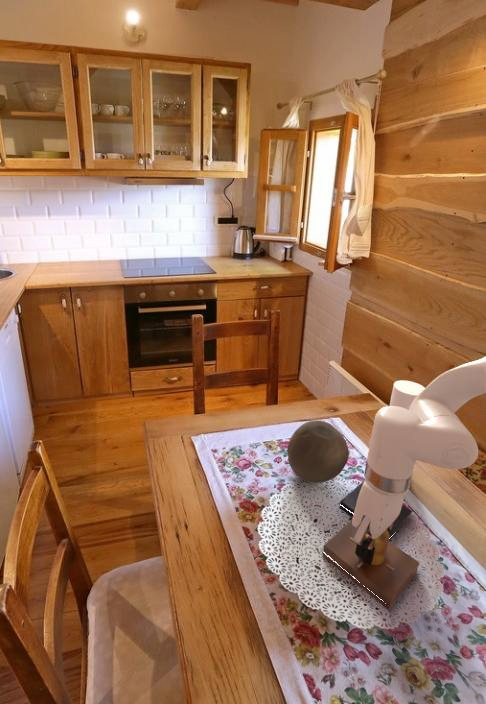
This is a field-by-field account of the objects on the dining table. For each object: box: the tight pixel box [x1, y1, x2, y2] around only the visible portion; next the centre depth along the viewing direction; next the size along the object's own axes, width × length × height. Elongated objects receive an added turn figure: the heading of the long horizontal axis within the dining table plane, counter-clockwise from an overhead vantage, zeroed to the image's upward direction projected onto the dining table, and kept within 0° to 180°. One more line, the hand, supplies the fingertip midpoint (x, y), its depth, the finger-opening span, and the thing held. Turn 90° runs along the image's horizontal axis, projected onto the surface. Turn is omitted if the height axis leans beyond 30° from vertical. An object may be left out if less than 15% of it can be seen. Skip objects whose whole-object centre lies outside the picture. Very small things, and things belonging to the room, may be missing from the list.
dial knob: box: [365, 529, 390, 565], centre depth 78 cm, size 5×5×6 cm
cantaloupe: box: [286, 419, 350, 484], centre depth 100 cm, size 14×14×15 cm
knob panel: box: [321, 518, 420, 611], centre depth 79 cm, size 14×11×3 cm
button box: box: [338, 480, 413, 542], centre depth 91 cm, size 12×10×4 cm
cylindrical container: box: [389, 379, 426, 410], centre depth 101 cm, size 7×7×25 cm
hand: (371, 549), depth 78 cm, fingers closed on dial knob, 5 cm apart
